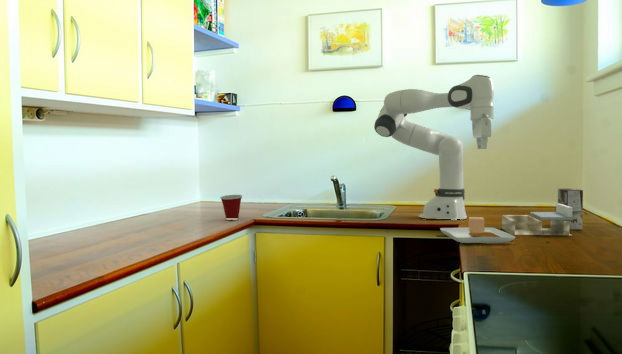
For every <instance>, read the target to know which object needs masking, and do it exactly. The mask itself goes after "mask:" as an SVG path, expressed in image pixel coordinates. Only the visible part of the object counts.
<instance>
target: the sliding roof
mask: <svg viewBox="0 0 622 354" xmlns="http://www.w3.org/2000/svg"><path fill="white" fill-rule="evenodd" d="M555 209H556V210H555V211H542V212H541V211H530V212H529V213H530V214H529V215H531V216H533V217H535V218H538V219H540V220H542V221H551V220H573V217H572V207H569V206H566V205H563V204H558V203H556V207H555Z"/></svg>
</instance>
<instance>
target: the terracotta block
mask: <svg viewBox="0 0 622 354" xmlns="http://www.w3.org/2000/svg"><path fill="white" fill-rule="evenodd" d="M468 228H469V232H470V234H471V233H476V234H478V233H480V234H485V232H484V228H485V218H484V217H481V216H480V217H479V216H469V217H468Z"/></svg>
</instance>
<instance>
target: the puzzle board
mask: <svg viewBox="0 0 622 354" xmlns="http://www.w3.org/2000/svg"><path fill="white" fill-rule="evenodd" d="M569 225H570V221H569V220H550V228H543V220H541V219H539V218H536V217H534V216H532V215H530V214H529V215H527V214H524V215H522V214H520V215H519V214H502V215H501V229H502V230H503V231H504V232H506V233H508V234H510V235H512V236H514V235H515V236H516V235H522V236H523V235H524V236H525V235H526V236H529V235H530V236H572V234H570V229H569Z"/></svg>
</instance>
